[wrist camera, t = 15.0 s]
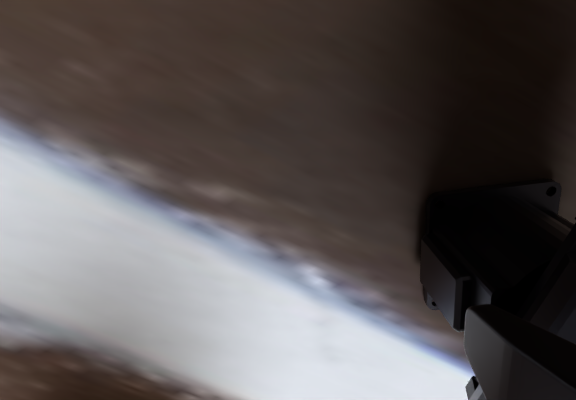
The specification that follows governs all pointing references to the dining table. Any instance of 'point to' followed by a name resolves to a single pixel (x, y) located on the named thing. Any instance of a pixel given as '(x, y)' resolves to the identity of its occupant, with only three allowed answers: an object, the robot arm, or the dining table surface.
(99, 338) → the dining table surface
